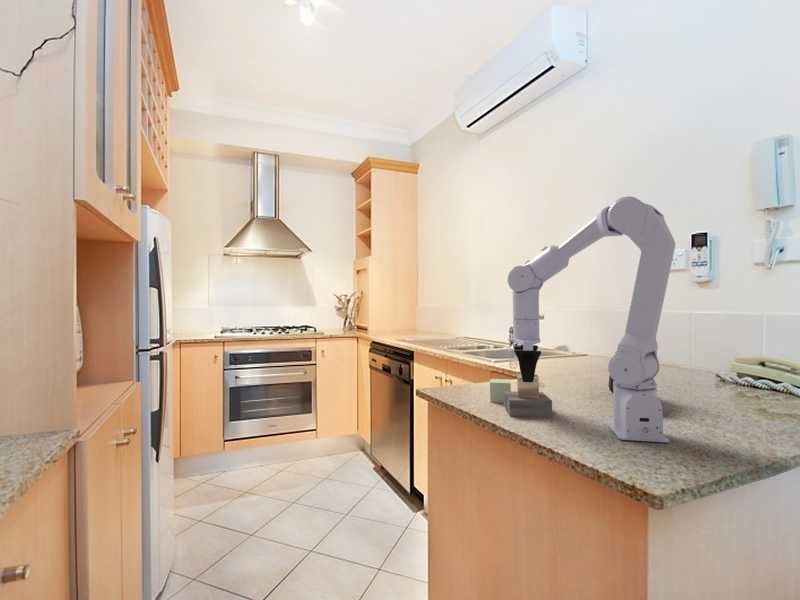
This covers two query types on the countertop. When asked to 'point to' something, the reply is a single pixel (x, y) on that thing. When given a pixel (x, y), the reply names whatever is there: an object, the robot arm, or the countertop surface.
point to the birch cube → (527, 387)
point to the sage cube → (499, 389)
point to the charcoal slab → (527, 405)
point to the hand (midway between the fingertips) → (526, 378)
